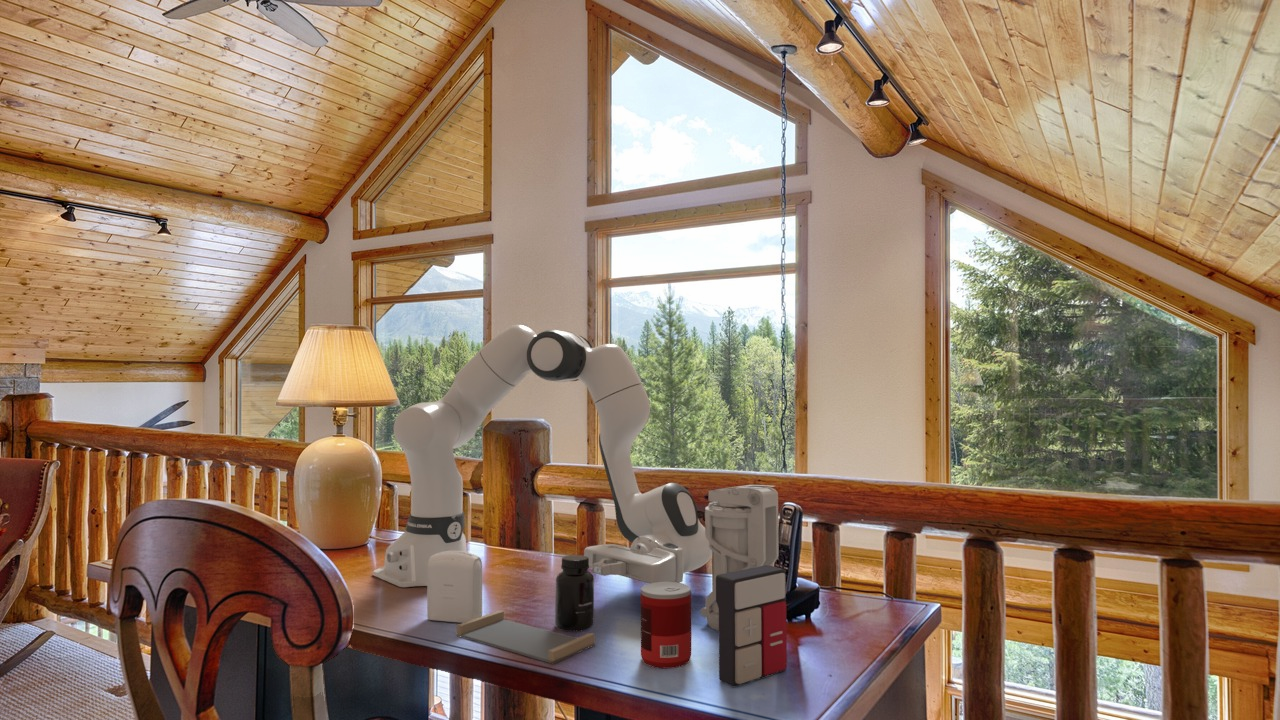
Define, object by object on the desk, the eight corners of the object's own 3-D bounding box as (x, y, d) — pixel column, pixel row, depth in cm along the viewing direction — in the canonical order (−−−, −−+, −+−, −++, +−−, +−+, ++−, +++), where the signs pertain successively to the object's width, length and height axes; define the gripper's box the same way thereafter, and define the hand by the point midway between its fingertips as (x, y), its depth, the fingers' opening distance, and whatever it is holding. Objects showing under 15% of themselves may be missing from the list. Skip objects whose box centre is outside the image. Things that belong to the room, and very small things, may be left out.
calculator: (736, 690, 102) (735, 581, 102) (715, 680, 105) (715, 574, 106) (790, 672, 108) (789, 569, 109) (769, 663, 112) (768, 564, 112)
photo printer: (423, 621, 132) (423, 552, 132) (435, 614, 136) (436, 547, 136) (474, 626, 129) (474, 555, 129) (485, 618, 133) (486, 550, 134)
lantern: (693, 624, 130) (693, 483, 131) (728, 611, 137) (727, 478, 138) (754, 642, 121) (753, 490, 122) (788, 627, 128) (787, 484, 129)
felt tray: (456, 635, 124) (456, 624, 124) (499, 620, 132) (500, 610, 132) (553, 663, 111) (553, 651, 111) (594, 645, 119) (594, 633, 119)
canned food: (701, 658, 113) (701, 587, 114) (668, 673, 108) (668, 598, 108) (663, 647, 119) (663, 578, 119) (630, 660, 113) (630, 588, 113)
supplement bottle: (587, 633, 125) (588, 563, 125) (549, 631, 126) (550, 561, 127) (598, 621, 132) (598, 554, 132) (561, 618, 133) (562, 552, 134)
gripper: (614, 533, 151) (562, 543, 141) (689, 549, 136) (636, 562, 126) (614, 564, 150) (561, 576, 141) (689, 583, 136) (636, 598, 126)
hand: (597, 569), depth 133 cm, fingers closed
